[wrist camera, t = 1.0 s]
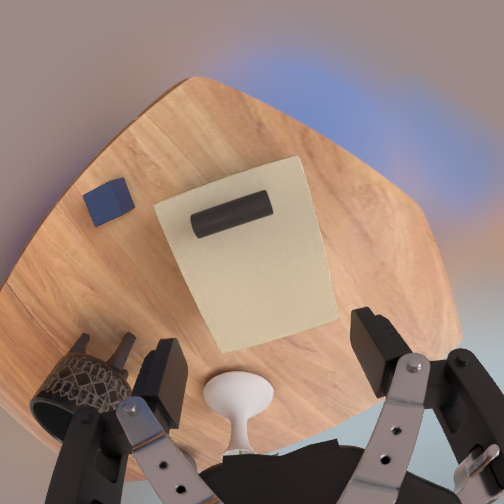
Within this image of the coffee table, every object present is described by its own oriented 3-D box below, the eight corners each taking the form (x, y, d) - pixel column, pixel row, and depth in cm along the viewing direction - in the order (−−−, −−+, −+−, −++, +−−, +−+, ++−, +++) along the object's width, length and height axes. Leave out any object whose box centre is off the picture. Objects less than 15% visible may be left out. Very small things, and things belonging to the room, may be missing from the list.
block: (98, 190, 30) (82, 195, 26) (123, 177, 30) (109, 181, 26) (109, 218, 32) (95, 227, 28) (135, 207, 31) (122, 214, 28)
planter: (105, 301, 36) (46, 387, 19) (166, 359, 40) (141, 455, 23) (67, 337, 38) (19, 410, 21) (121, 385, 42) (92, 464, 25)
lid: (154, 203, 23) (134, 217, 18) (297, 154, 22) (312, 155, 17) (221, 350, 28) (219, 383, 24) (337, 315, 27) (352, 344, 23)
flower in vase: (230, 414, 45) (231, 536, 22) (189, 381, 41) (170, 521, 18) (293, 388, 43) (320, 521, 20) (257, 349, 39) (274, 512, 16)
